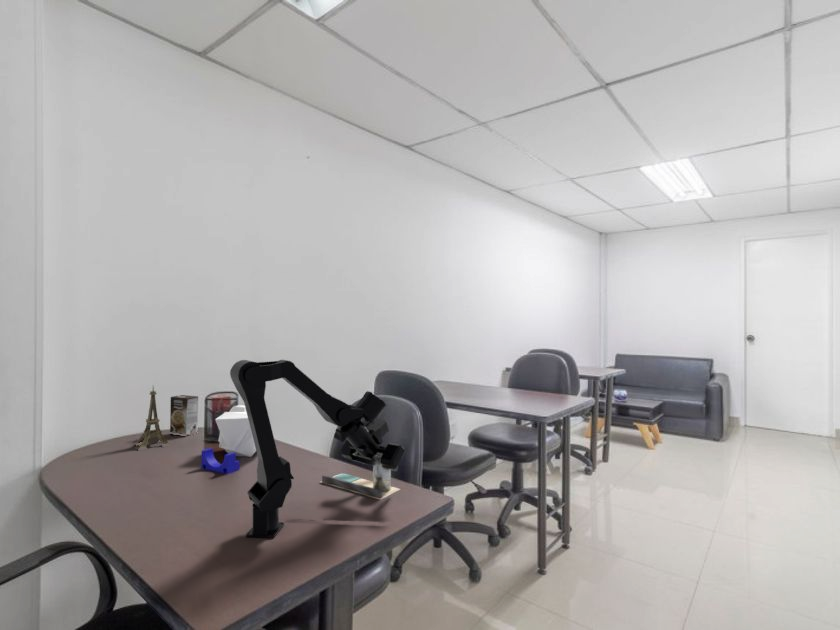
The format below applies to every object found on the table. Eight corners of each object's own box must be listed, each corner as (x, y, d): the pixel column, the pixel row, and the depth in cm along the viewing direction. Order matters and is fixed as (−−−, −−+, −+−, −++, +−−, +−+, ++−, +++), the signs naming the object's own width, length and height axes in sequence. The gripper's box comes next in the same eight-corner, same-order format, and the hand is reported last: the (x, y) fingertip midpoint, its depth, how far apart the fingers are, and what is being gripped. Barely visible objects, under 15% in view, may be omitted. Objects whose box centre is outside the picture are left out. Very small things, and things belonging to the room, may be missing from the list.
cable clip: (239, 470, 143) (239, 451, 143) (227, 474, 139) (228, 455, 139) (213, 465, 148) (213, 447, 148) (201, 469, 144) (201, 450, 144)
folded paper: (245, 400, 174) (203, 410, 160) (286, 406, 161) (244, 419, 147) (248, 442, 175) (206, 457, 161) (288, 452, 162) (247, 469, 148)
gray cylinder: (389, 492, 122) (389, 452, 122) (371, 492, 122) (371, 452, 123) (391, 486, 127) (392, 447, 127) (374, 485, 127) (374, 447, 128)
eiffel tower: (138, 451, 164) (139, 383, 164) (134, 445, 172) (134, 380, 172) (170, 446, 171) (171, 380, 171) (164, 440, 179) (165, 378, 179)
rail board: (400, 491, 125) (400, 482, 125) (380, 502, 117) (380, 492, 117) (341, 475, 138) (341, 467, 138) (319, 484, 130) (319, 475, 130)
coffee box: (169, 435, 186) (169, 396, 187) (181, 431, 193) (182, 394, 193) (186, 437, 184) (186, 398, 184) (198, 433, 190) (198, 395, 190)
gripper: (400, 415, 117) (423, 447, 126) (348, 407, 127) (372, 437, 136) (381, 452, 110) (407, 483, 119) (327, 440, 120) (355, 470, 129)
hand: (384, 467), depth 126 cm, fingers open, 8 cm apart
